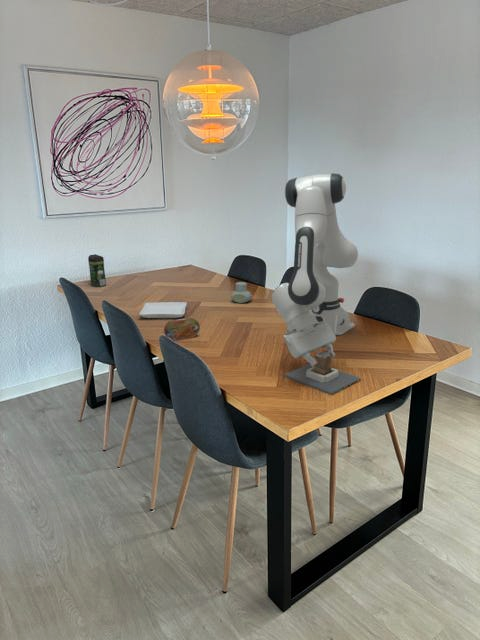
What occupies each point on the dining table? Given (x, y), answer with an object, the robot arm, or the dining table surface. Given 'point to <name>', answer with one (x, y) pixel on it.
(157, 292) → the dining table surface
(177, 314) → the salad plate
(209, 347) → the dining table surface
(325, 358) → the plug
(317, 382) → the end holder
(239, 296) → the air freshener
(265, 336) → the dining table surface
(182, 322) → the tin
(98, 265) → the coffee jar
